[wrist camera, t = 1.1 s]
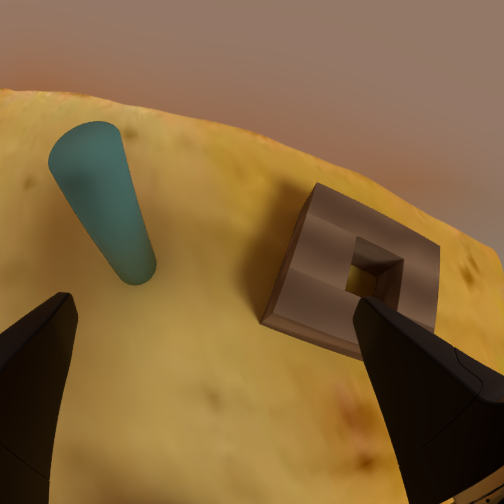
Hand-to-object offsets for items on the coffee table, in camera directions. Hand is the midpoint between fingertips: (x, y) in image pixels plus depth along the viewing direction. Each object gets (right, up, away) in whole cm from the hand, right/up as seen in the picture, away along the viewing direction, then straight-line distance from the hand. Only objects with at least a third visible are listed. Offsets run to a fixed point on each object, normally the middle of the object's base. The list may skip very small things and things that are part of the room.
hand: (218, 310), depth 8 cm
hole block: (+10, -2, +17) cm, 20 cm away
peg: (-9, +1, +15) cm, 17 cm away
